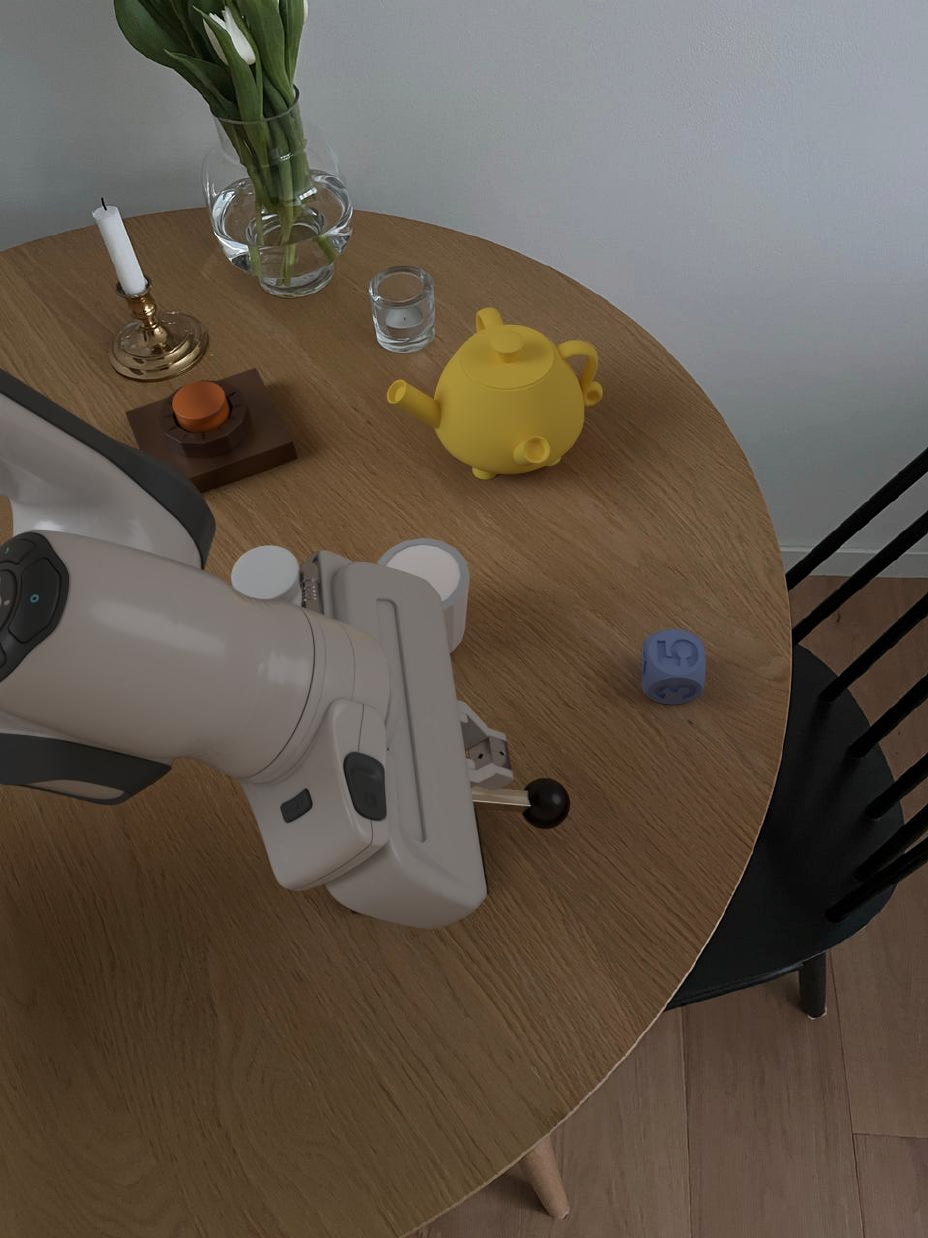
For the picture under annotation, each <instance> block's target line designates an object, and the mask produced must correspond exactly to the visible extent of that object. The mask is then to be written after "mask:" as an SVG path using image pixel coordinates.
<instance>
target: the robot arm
mask: <svg viewBox="0 0 928 1238" xmlns="http://www.w3.org/2000/svg"><path fill="white" fill-rule="evenodd" d="M0 495H1V496H3V497H6V498H8V499H9V502H10V507H11V512H12V537H11V538H9V539H8V540H6V541H5V542H4V543H3V544H1V545H0V785H2V786H14V787H21V788H27V789H32V790H37V791H42V792H46V793H51V794H54V795H59V796H63V797H67V798H71V799H75V800H78V801H83V802H86V803H91V804H96V805H101V806H117V805H120V804H123V803H125V802H126V801H128V800H129V799H131V798H133V797H134V796H137V794H139V793H141V792H142V791H143V790H145V789H147V788H148V787H150V786H153V784H155V783H156V782H158V781H159V780H161V779H162V778H164V777H165V776H166V775H168V774H169V772H171V771H172V770H173V767H172V766H173V764H174V763H175V762H176V761H177V760H178V759H186V760H193V761H196V762H201V763H203V764H205V765H208V766H209V767H211V768H213V769H214V770H216V771H218V772H220V773H221V774H224V775H226V776H228V777H230V778H233V779H238V780H239V783H240V786H241V789H242V791H243V793H244V795H245V797H246V799H247V801H248V803H249V806H250V808H251V811H252V813H253V816H254V818H255V821H256V824H257V826H258V829H259V832H260V835H261V838H262V841H263V844H264V847H265V851H266V855H267V857H268V860H269V863H270V867H271V870H272V873H273V876H274V878H275V880H276V881H277V883H279V885H280V886H281V887H283V888H285V889H287V890H291V891H296V892H303V891H307V890H311V889H313V888H316V887H319V886H322V885H324V886H325V888H326V890H327V892H329V894H330V895H331V896H332V897H333V898H334V900H336V901H337V902H338V903H339V904H341V905H343V906H344V907H345V908H348V909H349V910H350V909H351V910H354V911H356V912H359V913H358V914H361V915H365V916H367V917H371V918H375V919H378V920H382V921H384V922H389V923H393V924H397V925H401V926H405V927H410V928H411V927H412V928H417V929H424V930H435V929H440V928H443V927H446V926H449V925H451V924H454V923H455V922H458V921H460V920H462V919H464V918H466V917H468V916H469V915H471V914H473V913H474V912H475V911H476V910H477V909H478V908H479V907H480V906H481V905H482V904H483V902H484V901H485V900H486V898H487V895H488V894H487V888H486V882H485V876H484V870H483V863H482V857H481V851H480V844H479V838H478V831H477V825H476V819H475V812H474V806H473V799H472V793H471V788H473V787H475V786H478V787H482V788H485V789H489V790H497V789H500V788H504V787H505V786H507V785H509V784H511V783H513V782H514V779H515V778H514V774H513V769H512V764H511V760H510V751H509V745H508V741H507V735H506V734H505V732H502V731H499V730H497V729H494V728H490V727H488V725H487V724H486V723H485V721H483V719H481V718H480V717H479V715H478V714H477V713H476V712H475V711H474V710H473V709H472V708H471V707H470V706H469V705H468V704H467V702H465V701H462V700H459V699H458V697H457V692H456V691H457V690H456V685H455V679H454V672H453V664H452V659H451V658H452V657H451V653H450V652H449V645H448V639H447V633H446V626H445V620H444V613H443V607H442V600H441V597H440V595H439V593H438V592H437V591H436V590H435V589H434V588H433V586H432V585H431V584H430V583H429V582H428V581H427V580H425V579H423V578H421V577H418V576H416V575H413V574H410V573H407V572H404V571H401V570H398V569H394V568H391V567H387V566H383V565H379V564H377V563H375V562H370V561H369V562H368V561H362V560H361V561H360V560H358V561H352V560H351V559H349V558H347V557H345V556H342V555H339V554H337V553H335V552H333V551H331V550H327V549H321V550H319V551H313V552H312V553H310V554H309V555H308V556H307V558H306V559H305V561H304V562H303V563H302V564H300V565H299V567H300V569H299V585H300V588H301V596H302V597H301V607H300V606H298V605H295V604H292V603H290V602H287V601H283V600H278V599H260V598H255V597H250V596H247V595H245V594H243V593H241V592H239V591H237V590H236V589H235V588H233V585H232V584H230V583H228V582H227V581H226V580H224V579H223V578H222V577H220V576H219V575H217V574H215V573H212V572H210V571H208V570H206V565H207V562H208V558H209V556H210V555H209V554H210V551H211V549H212V545H213V541H214V537H215V534H216V530H217V523H216V519H215V516H214V514H213V511H212V510H211V508H210V506H209V504H208V503H207V501H206V499H205V498H204V497H203V495H202V493H200V492H199V490H198V489H197V488H196V486H195V485H194V484H193V483H192V482H191V480H190V479H189V478H188V477H187V476H186V475H185V474H184V473H183V472H182V471H181V470H179V469H178V468H177V467H175V466H174V465H172V464H170V463H168V462H166V461H164V460H162V459H160V458H158V457H156V456H154V455H151V454H149V453H147V452H144V451H142V450H140V449H139V448H138V447H137V448H136V447H134V446H131V445H128V444H127V443H124V442H122V441H120V440H116V439H115V438H112V437H111V436H109V435H107V434H106V433H104V432H102V431H101V430H100V429H98V428H96V427H95V426H93V425H91V424H90V423H88V422H87V421H86V420H84V419H82V418H80V417H79V416H77V415H76V414H74V413H73V412H71V411H69V410H68V409H67V408H65V407H63V406H61V405H60V404H59V403H57V402H56V401H54V400H52V399H50V398H49V397H47V396H46V395H45V394H43V393H41V392H40V391H39V390H36V389H35V388H34V387H32V386H30V385H29V384H27V383H26V382H24V381H23V380H21V379H19V378H18V377H16V376H15V375H13V374H11V373H9V372H8V371H7V370H5V369H3V368H2V367H0ZM466 751H467V754H468V757H467V756H466V755H467V754H466Z"/></svg>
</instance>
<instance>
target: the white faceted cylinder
mask: <svg viewBox="0 0 928 1238" xmlns="http://www.w3.org/2000/svg"><path fill="white" fill-rule="evenodd" d="M376 564H379V565H383V566H387V567H391V568H394V569H398V570H401V571H404V572H407V573H410V574H413V575H416V576H418V577H421V578H423V579H425V580H427V581H428V582H429V583H430V584H431V585H432V586H433V588H434V589H435V590H436V591H437V592H438V593H439V595H440V597H441V600H442V607H443V613H444V620H445V626H446V633H447V639H448V645H449V652H450V654H451V653H453V652H454V651H455V650H456V649H457V647H458V646H459V645H460V644H461V642H463V637H464V634H465V630H466V620H467V609H468V599H469V587H470V571H469V566H468V561H467V560H466V559H465V558H464V556H463V555H462V554H461V552H460V551H459V550H458V548H456V547H455V546H453V545H450V544H449V543H447V542H445V541H443V540H440V539H435V538H427V537H420V538H414V539H413V538H412V539H407V540H404V541H402V542H400V543H398V544H396V545H394V546H392V547H390V548H389V549H387V551H386V552H385V553H384V554H383V555H382V556H381V557H380V558H379V559H378V561H377V563H376Z"/></svg>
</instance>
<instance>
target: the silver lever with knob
mask: <svg viewBox="0 0 928 1238" xmlns="http://www.w3.org/2000/svg"><path fill="white" fill-rule="evenodd" d="M471 793H472V799H473V806H474V809H476V810H486V811H497V812H498V811H499V812H510V813H520V814H521V815H522V817H523V819H524V820H525V821H526V822H527V823H528V824H529V825H530V826H532V827H534V828H536V829H539V830H551V829H554V828H558V827H559V826H560V825H561V824H563V823H564V822H565V820H566V819H567V818H568V816H569V813H570V810H571V797H570V795H569V792H568V790H567V788H566V787H564V785H563V784H562V783H561V782H559V781H558V780H556V779H552V778H549V777H540V778H536V779H534V780H532V781H530V782H529V783H528V784H527V785H525V786H524V788H523V789H513V788H504V787H502V788H500V789H497V790H489V789H485V788H482V787H478V786H475V787H473V788H471Z"/></svg>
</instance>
